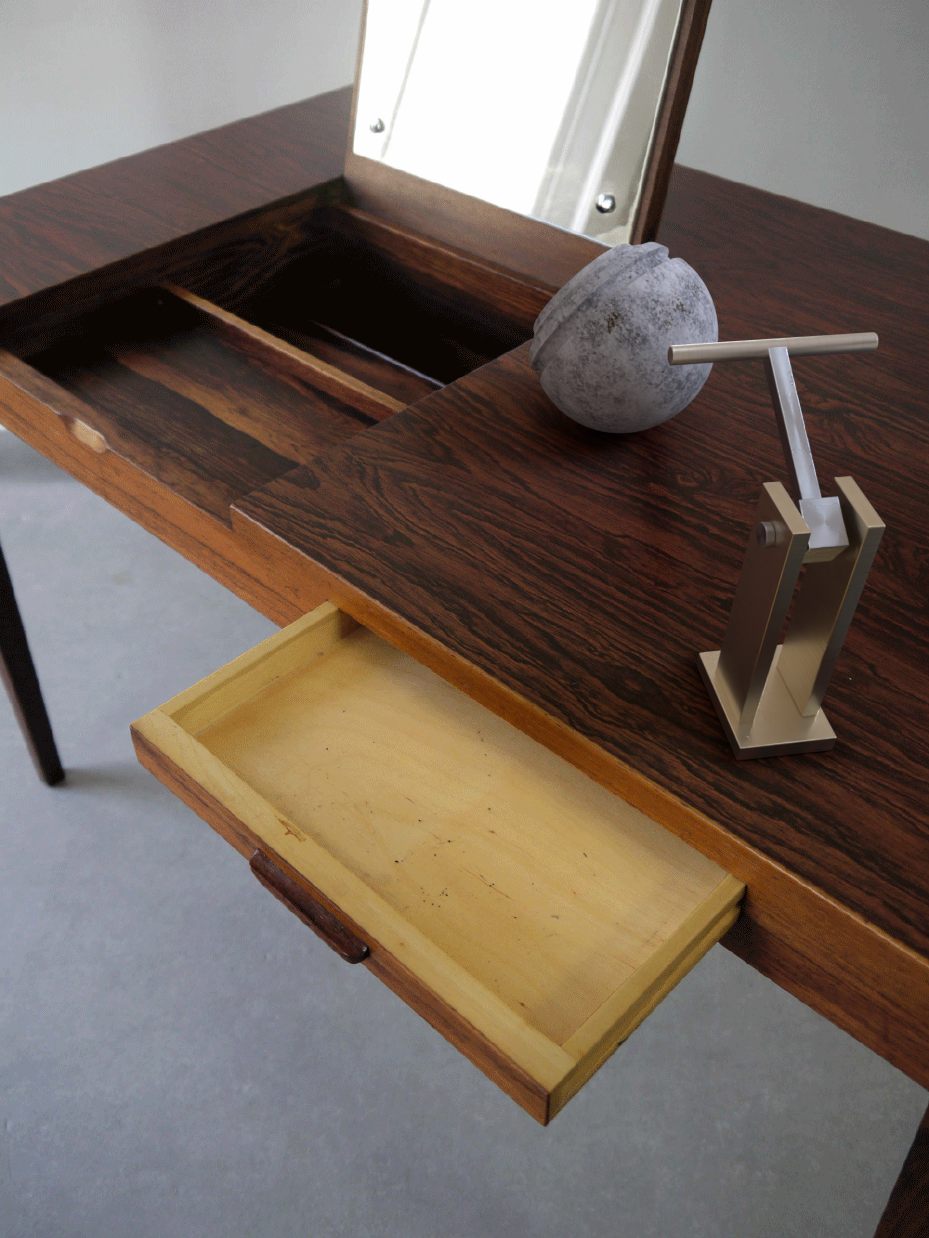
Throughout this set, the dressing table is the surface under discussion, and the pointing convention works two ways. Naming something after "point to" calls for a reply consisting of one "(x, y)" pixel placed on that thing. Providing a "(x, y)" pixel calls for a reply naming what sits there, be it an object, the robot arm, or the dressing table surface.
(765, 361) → the tap lever
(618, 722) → the dressing table surface
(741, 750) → the bracket
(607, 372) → the decorative orb
